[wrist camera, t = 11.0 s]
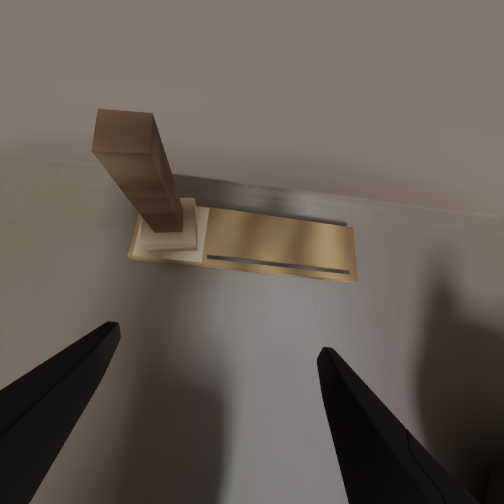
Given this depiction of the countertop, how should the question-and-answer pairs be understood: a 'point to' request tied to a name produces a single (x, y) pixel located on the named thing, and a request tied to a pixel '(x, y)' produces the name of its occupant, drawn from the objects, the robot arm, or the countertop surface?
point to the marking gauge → (145, 179)
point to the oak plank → (262, 246)
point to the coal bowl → (496, 485)
